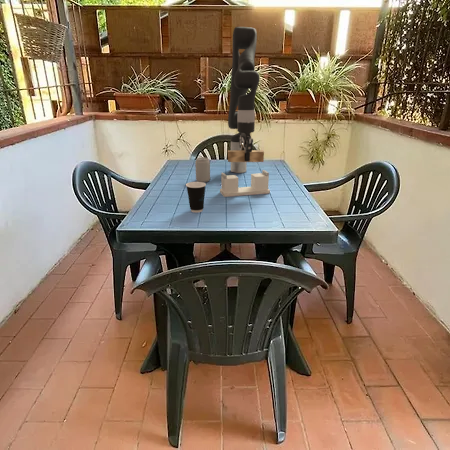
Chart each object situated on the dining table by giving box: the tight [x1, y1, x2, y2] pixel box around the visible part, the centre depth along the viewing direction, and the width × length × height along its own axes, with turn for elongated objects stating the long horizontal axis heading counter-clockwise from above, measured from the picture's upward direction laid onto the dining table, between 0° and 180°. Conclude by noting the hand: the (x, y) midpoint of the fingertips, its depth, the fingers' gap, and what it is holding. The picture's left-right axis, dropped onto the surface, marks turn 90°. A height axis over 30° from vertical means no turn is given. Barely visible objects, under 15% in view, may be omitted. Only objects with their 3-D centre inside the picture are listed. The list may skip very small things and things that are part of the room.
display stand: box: [219, 169, 271, 198], centre depth 162 cm, size 22×8×10 cm, turn 104°
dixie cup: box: [185, 181, 207, 214], centre depth 139 cm, size 8×8×11 cm
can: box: [194, 157, 211, 183], centre depth 182 cm, size 8×8×12 cm
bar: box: [227, 149, 265, 163], centre depth 157 cm, size 16×4×4 cm, turn 89°
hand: (245, 159), depth 158 cm, fingers closed on bar, 4 cm apart
